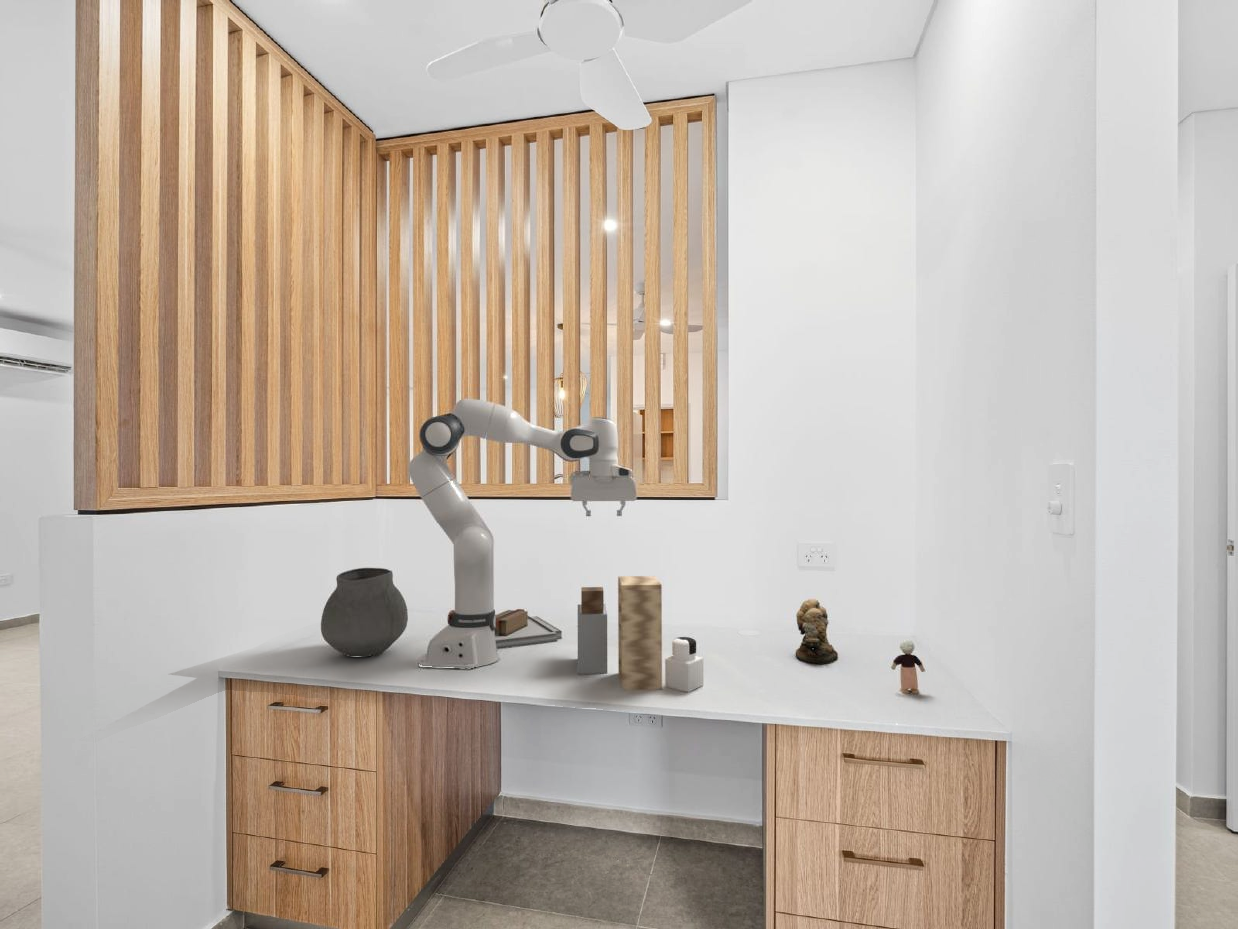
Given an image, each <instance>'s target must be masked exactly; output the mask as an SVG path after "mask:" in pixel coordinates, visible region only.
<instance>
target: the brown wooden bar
mask: <svg viewBox="0 0 1238 929" xmlns="http://www.w3.org/2000/svg"><path fill="white" fill-rule="evenodd" d="M580 589H581V592H580V593H581V595H580V596H581V597H580V598H581V599H580V600H581V601H580V603H581V613H604V604H605V603H604V602H605V599H604V598H605V595H604V593H605V592H604V587H603V586H593V587H592V586H591V587H589V586H587V587H585V586H583V587H581V588H580Z"/></svg>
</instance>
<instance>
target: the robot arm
mask: <svg viewBox="0 0 1238 929" xmlns="http://www.w3.org/2000/svg"><path fill="white" fill-rule="evenodd" d="M618 432H619V431H618V426H617V424H616V423H615V421H614V420H612V419H611V418H607V417H606V418H605V417H600V416H599V417H598V416H596V417H595V416H594V417H592V418H591V419H590V420H587V421H586V422H585V423H583V424H580V425H577V426H575V427H571V428H570V429H567V430H563V431H557V430H552V429H549V428H546V427H543V426H538V425H535V424H533V423H530V422H529V421H527V420H526V419H525V418H524V417H522V415H520V413H519V412H517V411H516V410H514V409H512V408H510V407H508V406H505V405H503V404H499V403H495V402H492V401H488V400H483V399H477V398H476V399H475V398H461V399H459V401H457V402H456V404H455V405H454V407H453V409H452V411H451V412H448V413H445V414H441V415H435V416H432V417H430V418H428V419H427V420H426V421H425V422H423V424H422V426H421V427H420V429H419V435H418V437H419V442H420V444H421V446H422V448H421V449H422V450H421V451H420V452H419V453H418V454H417V455H415V456H413V458H412V459H411V460H410V461H409V463H408V464H407V465H408V466H407V471H408V474H409V475H408V476H409V477H410V480H411V482H412V484H413V486H414V488H415V490H416V491H417V493H418V495H419V497H420V498H421V500H422V502H423V503H424V504H425V506H426V508H427V509H428V511H429V513H430V514H431V516H432V517H433V519H434V521H436V522H435V523H437V524H438V525H439V527H440V528H441V529H442V531H443V532H444V533H445V534H446V536H447V537H448V539H449V540H450V542H451V543H452V544H453V571H454V572H453V574H454V609H451V610H450V611H449V612H448V614H447V624H448V625H446V626H445V627H444V628H442V629H441V630H439V632H438V633H436V634H435V635H434V636H432V638H431V639H430V641H428V642H429V643H428V644H427V649H426V653H425V654H423V655H422V656H421V657H419V659H418V664H420V665H422V666H432V667H454V668H467V669H466V670H472V669H471V668H473V669H475V668H474V667H476V668H479V667H482V666H488V665H491V664H493V663H496V662H498V661H499V660H500V655H499V652H498V649H497V647H496V641H495V632H494V630H495V626H496V615H497V614H496V610H495V609H494V608H495V606H494V605H495V603H494V602H495V599H494V598H495V597H494V594H495V592H494V591H495V590H494V589H495V588H494V587H495V584H494V583H495V582H494V579H495V578H494V575H495V574H494V558H495V557H494V553H495V552H494V545H495V544H494V542H495V541H494V536H493V533H492V532H491V530H490V529H489V527H488V526H487V524H486V523H485V521H484V520H483V518H482V517H481V515H480V513H479V512H478V511H477V510H476V508H475V507H474V505H473V503H472V502H471V501H470V499H469V497H468V496H467V495H466V492H464V489H463V488H462V487H461V485H460V484H459V482H458V480H457V479H456V477H455V476H454V474H453V472H452V471H451V469H450V468H449V466H448V462H447V460H448V459H449V458H450V457H451V456H452V455H453V454H454V453H455V452H456V450H457V449H458V448H459V445H460V442H461V440H462V439H463V438H465V437H476V438H480V439H483V440H487V441H491V442H495V443H496V442H497V443H504V444H506V443H507V444H508V443H509V444H511V443H512V444H527V445H530V446H534V447H538V448H540V449H545V450H548V451H551V452H553V453H554V454H555V455H557V456H558V457H559V458H561V459H562V460H564V461H566V462H569V463H573V462H577V461H579V460H582V459H584V458H587V459H589V460H588V462H589V470H574V472H572V473H570V475H569V484H570V486H571V490H570V500H571V501H573V502H582V503H581V504H582V506H583V509H584V510H585V516H586V517H592V514H591V512H592V510H590V509H588V507H587V505H588V502H620V505H621V507H620V508H619V509H617V510H616V517H623V510H624V508H625V506H626V502H634V501H636V500H637V498H638V491H637V483H636V480H635V479H634V478H633V477H632V476H633V474H634V473H633V470H632V469H631V468H628V467H625V466H620V465H619V458H618V449H619V437H618V436H619V435H618V434H619V433H618Z"/></svg>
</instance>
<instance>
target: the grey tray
mask: <svg viewBox="0 0 1238 929" xmlns="http://www.w3.org/2000/svg"><path fill="white" fill-rule="evenodd" d="M528 613H529V612H528V611H527V610H525V608H524V609H523V608H522V609H521V608H517V609H515V610H514V609H513V610H512V609H507V610H505V611H502V612H500V613H498V614H495V615H496V626H495V630H494V632H495V641H496V647H497V650H498V649H499V650H501V649H506V648H507V647H508V648H514V647H522V646H523V647H524V646H530V645H531V644H532V645H537V644H538V645H539V643H540V644H546V643H547V644H548V643H554V642H558V640H561V639H563V638H562V636H563V635H562V633H563V632H562V630H561V629H560V628H557V627H555V626H554V625H552V624H551V623H549V622H548V621H546V620H545V619H543V618H540V617H539V616H537V615H536V616H530V615H528ZM532 645H531V646H532ZM508 648H507V649H508Z"/></svg>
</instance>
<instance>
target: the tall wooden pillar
mask: <svg viewBox="0 0 1238 929" xmlns="http://www.w3.org/2000/svg"><path fill="white" fill-rule="evenodd" d="M617 577H618V578H617V580H618V581H617V587H618V588H617V594H618V597H617V600H618V602H617V606H618V608H617V614H618V617H617V619H618V620H617V621H618V622H617V623H618V624H617V626H618V629H617V630H618V635H617V636H618V637H617V638H618V639H617V640H618V644H617V645H618V647H617V648H618V662H617V664H618V666H617V667H618V669H617V671H618V678H619V681H620V682H619V683H620V687H621V691H644V690H645V691H646V690H648V691H649V690H653V691H655V690H663V653H662V652H663V641H662V640H663V636H662V635H663V634H662V632H663V630H662V629H663V627H662V625H663V624H662V621H663V620H662V618H663V617H662V615H663V614H662V607H663V606H662V605H663V604H662V600H663V599H662V587H663V586H662V584H661V582H660V581H659V580H658V578H657V577H656V576H655V575H640V576H639V575H638V576H633V575H632V576H630V575H629V576H628V575H627V576H625V575H624V576H620V575H619V576H617Z"/></svg>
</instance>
